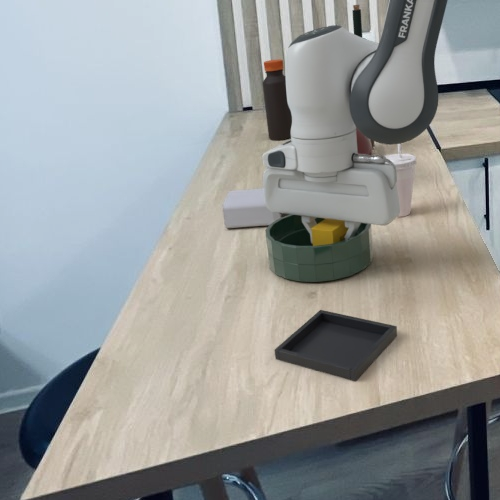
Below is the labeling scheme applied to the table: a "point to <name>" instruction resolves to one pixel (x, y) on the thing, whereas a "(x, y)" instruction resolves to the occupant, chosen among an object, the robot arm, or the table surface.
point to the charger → (247, 209)
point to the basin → (315, 252)
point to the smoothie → (404, 178)
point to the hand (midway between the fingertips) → (332, 245)
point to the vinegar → (276, 101)
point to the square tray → (336, 344)
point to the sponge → (328, 232)
